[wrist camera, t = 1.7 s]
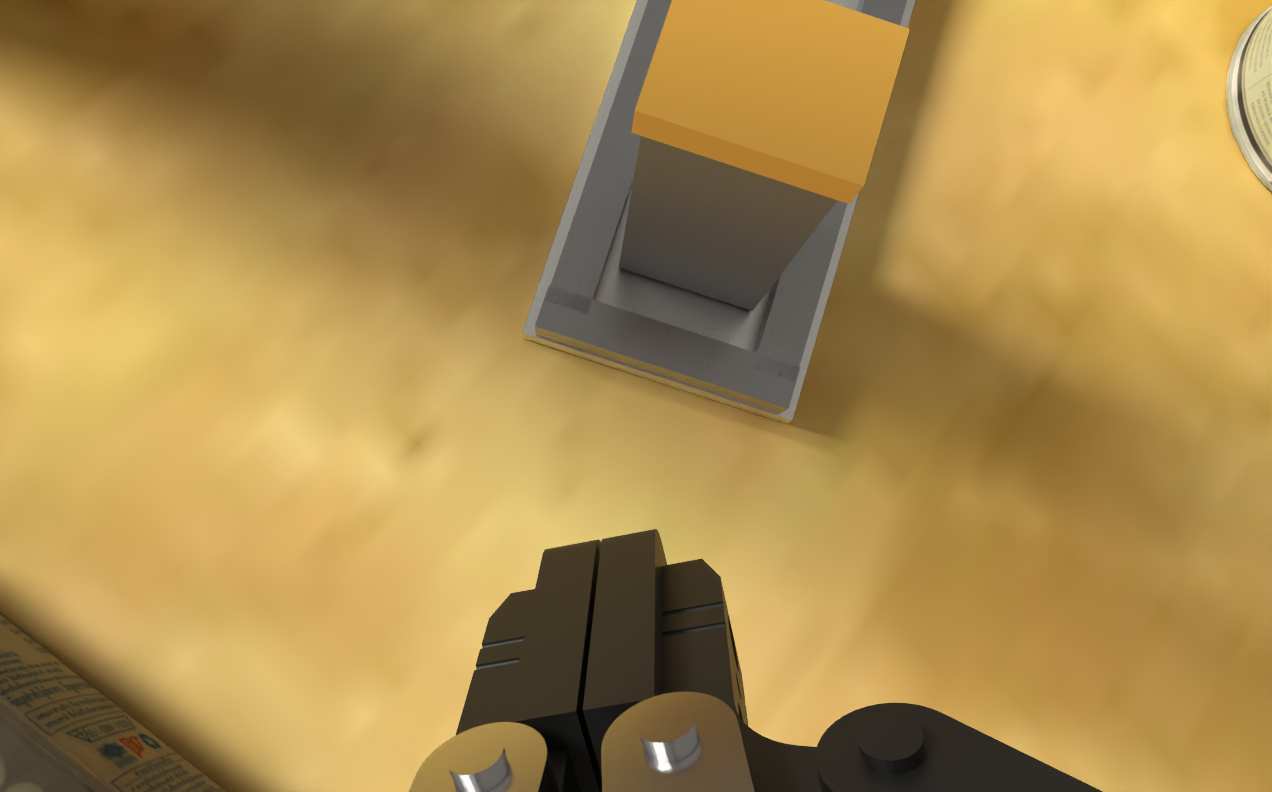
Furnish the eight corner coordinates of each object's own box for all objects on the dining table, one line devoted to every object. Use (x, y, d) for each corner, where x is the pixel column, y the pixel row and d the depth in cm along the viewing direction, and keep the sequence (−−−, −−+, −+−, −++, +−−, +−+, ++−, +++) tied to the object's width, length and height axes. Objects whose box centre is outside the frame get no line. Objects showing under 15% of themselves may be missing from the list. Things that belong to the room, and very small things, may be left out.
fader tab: (755, 319, 35) (864, 186, 22) (611, 272, 35) (634, 110, 22) (787, 216, 36) (910, 28, 23) (645, 169, 36) (687, -46, 23)
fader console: (786, 423, 36) (802, 414, 34) (523, 338, 36) (520, 322, 34) (952, -141, 40) (977, -186, 38) (715, -220, 40) (725, -270, 38)
